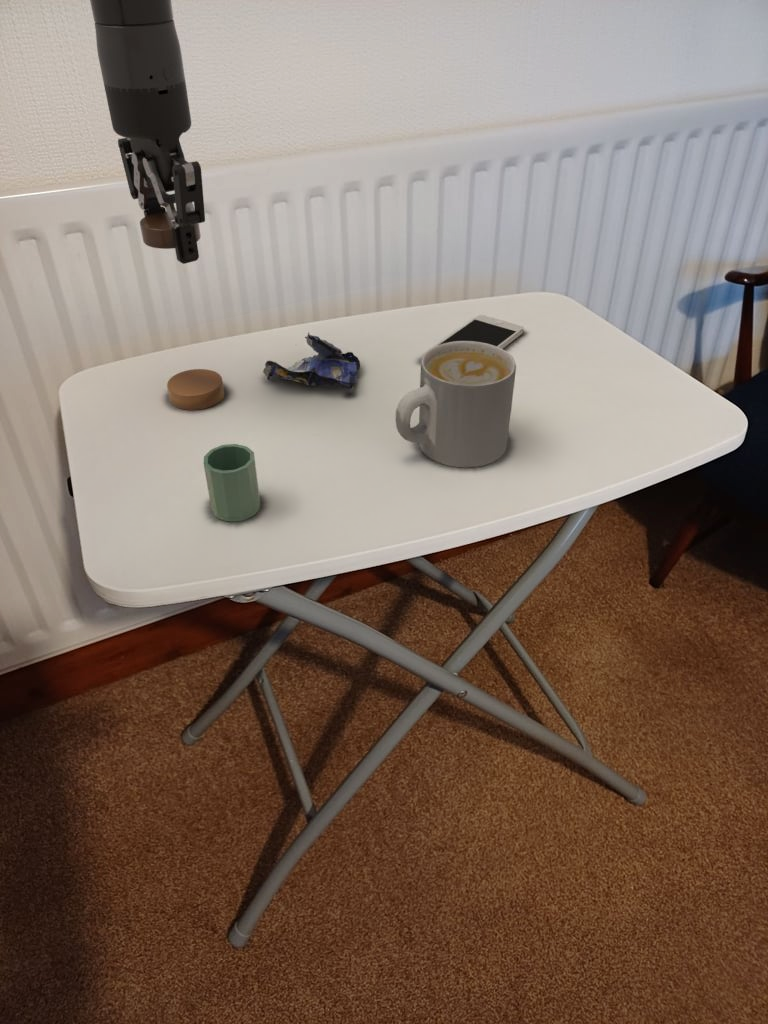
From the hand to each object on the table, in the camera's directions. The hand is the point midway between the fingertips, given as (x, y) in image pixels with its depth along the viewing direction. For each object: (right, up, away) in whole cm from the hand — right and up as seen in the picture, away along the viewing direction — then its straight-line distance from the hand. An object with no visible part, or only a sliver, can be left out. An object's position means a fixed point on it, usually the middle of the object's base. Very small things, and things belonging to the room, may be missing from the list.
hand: (174, 251), depth 84 cm
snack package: (+14, -12, +15) cm, 24 cm away
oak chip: (0, -14, +12) cm, 18 cm away
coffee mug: (+30, -21, +3) cm, 36 cm away
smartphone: (+35, -6, +22) cm, 42 cm away
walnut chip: (0, +1, -1) cm, 1 cm away
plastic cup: (+8, -28, -5) cm, 29 cm away
